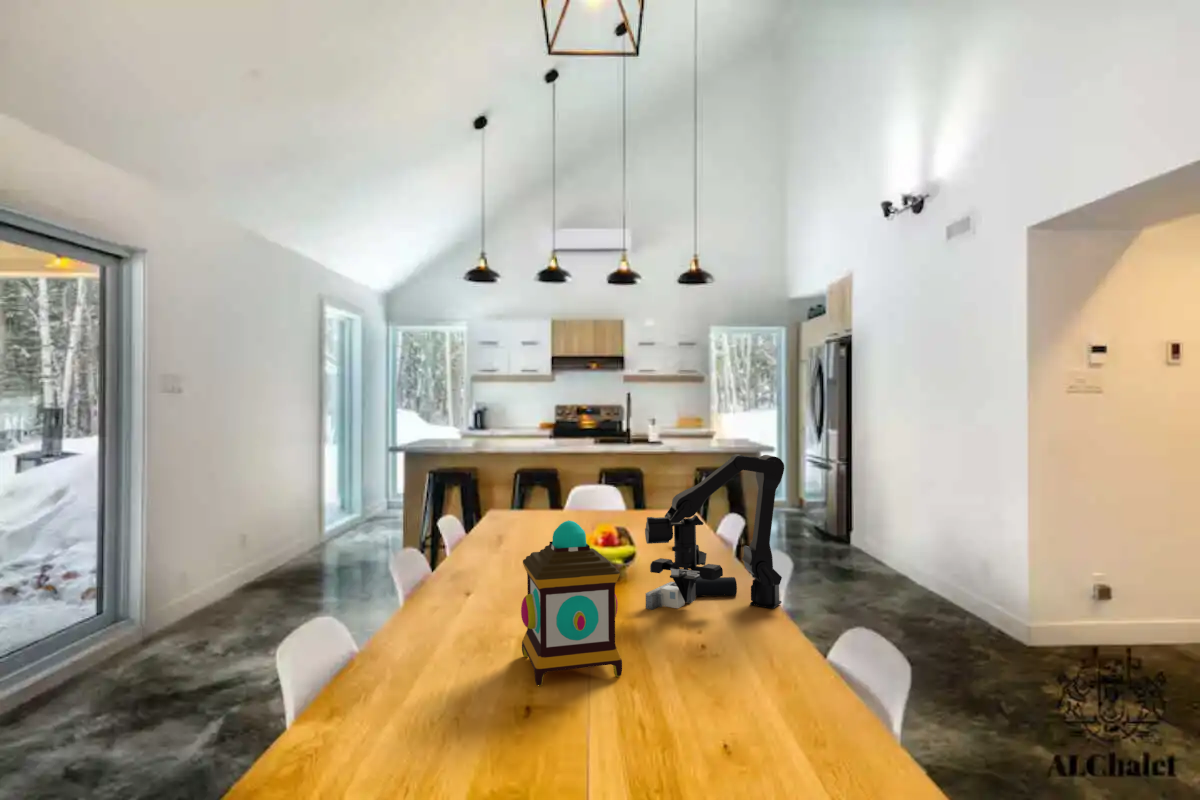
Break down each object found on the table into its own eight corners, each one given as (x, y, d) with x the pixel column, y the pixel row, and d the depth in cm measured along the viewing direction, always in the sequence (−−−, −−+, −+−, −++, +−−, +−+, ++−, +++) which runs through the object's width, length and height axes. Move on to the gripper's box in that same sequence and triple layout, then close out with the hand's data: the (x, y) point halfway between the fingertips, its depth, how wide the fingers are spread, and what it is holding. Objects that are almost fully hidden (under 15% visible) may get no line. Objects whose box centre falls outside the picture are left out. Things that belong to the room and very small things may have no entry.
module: (684, 604, 184) (684, 587, 184) (677, 608, 181) (677, 591, 181) (668, 601, 187) (668, 585, 187) (660, 605, 184) (660, 588, 184)
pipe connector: (676, 569, 202) (727, 568, 203) (676, 587, 202) (727, 586, 203) (683, 580, 191) (736, 579, 191) (683, 599, 191) (736, 598, 192)
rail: (680, 597, 191) (680, 583, 191) (655, 610, 180) (655, 594, 180) (671, 595, 193) (671, 581, 193) (645, 608, 181) (645, 593, 181)
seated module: (695, 599, 189) (695, 583, 189) (690, 603, 186) (690, 587, 186) (678, 597, 191) (678, 581, 191) (673, 601, 188) (673, 584, 188)
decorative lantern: (530, 691, 130) (528, 532, 130) (514, 654, 149) (513, 515, 149) (631, 679, 135) (630, 526, 135) (603, 645, 154) (602, 510, 154)
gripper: (730, 540, 183) (732, 599, 183) (668, 534, 194) (669, 590, 194) (712, 547, 174) (714, 609, 174) (648, 541, 185) (649, 599, 184)
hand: (686, 601), depth 182 cm, fingers closed
